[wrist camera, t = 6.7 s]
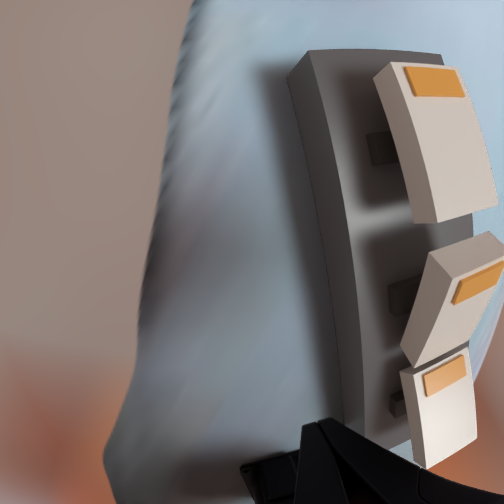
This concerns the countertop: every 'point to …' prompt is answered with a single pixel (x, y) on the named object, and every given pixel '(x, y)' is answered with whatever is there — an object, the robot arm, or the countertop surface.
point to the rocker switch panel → (365, 228)
